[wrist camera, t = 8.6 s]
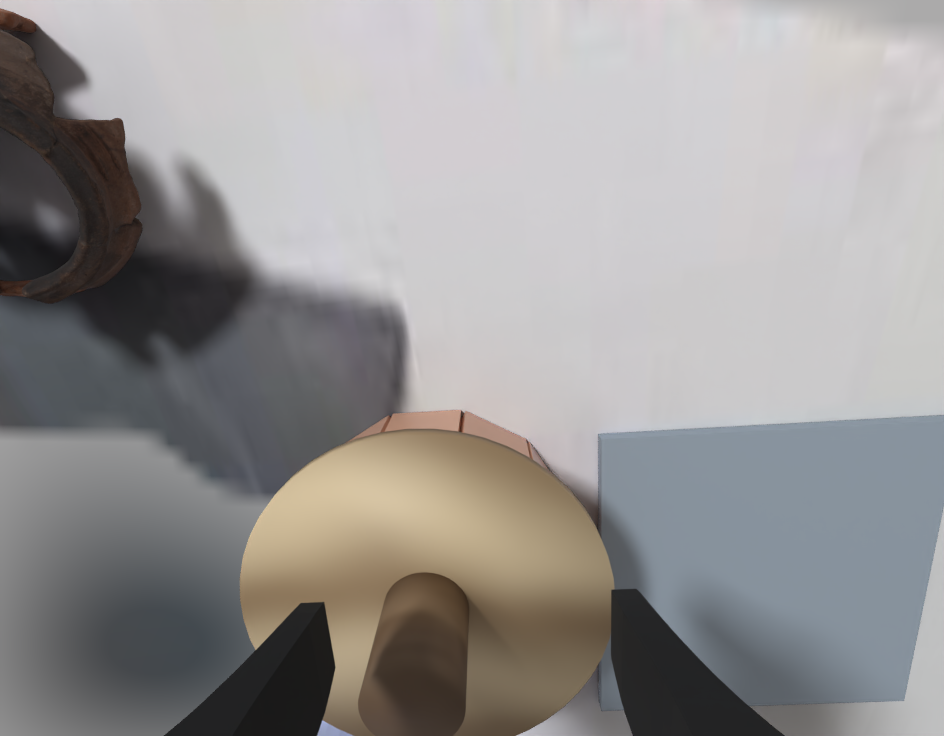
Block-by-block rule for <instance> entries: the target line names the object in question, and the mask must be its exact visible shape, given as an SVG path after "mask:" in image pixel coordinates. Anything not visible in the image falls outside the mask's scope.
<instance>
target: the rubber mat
mask: <svg viewBox="0 0 944 736" xmlns="http://www.w3.org/2000/svg"><path fill="white" fill-rule="evenodd" d="M943 507H944V415H937V416H919V417H900V418H882V419H864V420H845V421H827V422H809V423H790V424H772V425H754V426H735V427H717V428H699V429H681V430H662V431H644V432H626V433H607V434H598V522H599V535H600V537H601V540H602V542H603V544H604V547H605V549H606V552H607V554H608V557H609V561H610V565H611V569H612V573H613V577H614V588H615V589H637V590H638V591H639V592H641V594H642V595H643V596H644V597H645V598H646V600H647V601H648V602H649V603H650V605H651V606H652V607H653V608H654V609H655V610H656V612H657V613H658V614H659V615H660V616H661V617H662V619H663V620H664V621H665V622H666V623H667V624H668V625H669V627H670V628H671V629H672V630H673V631H674V632H675V633H676V634H677V636H678V637H679V638H680V639H681V640H682V641H683V642H684V643H685V644H686V645H687V646H688V647H689V648H690V649H691V650H692V652H693V653H694V654H695V655H696V656H697V657H698V658H699V659H700V660H701V661H702V662H703V663H704V664H705V665H706V666H707V667H708V668H709V669H710V670H711V671H712V672H713V673H714V674H715V675H716V676H717V677H718V678H719V679H720V680H721V681H722V682H723V683H724V684H725V685H726V686H727V687H729V688H730V689H731V690H732V691H733V692H734V693H735V694H736V695H737V696H738V697H739V698H740V699H741V700H743V701H744V702H745V703H746V704H747V705H748V706H764V705H794V704H824V703H854V702H884V701H904V699H905V694H906V689H907V684H908V679H909V674H910V669H911V664H912V659H913V655H914V650H915V645H916V640H917V635H918V630H919V625H920V620H921V615H922V610H923V606H924V601H925V596H926V591H927V586H928V581H929V576H930V571H931V566H932V561H933V556H934V552H935V547H936V542H937V537H938V532H939V527H940V522H941V517H942V512H943ZM599 703H600V707H601V711H614V710H624V708H623V705H622V702H621V698H620V694H619V690H618V686H617V681H616V677H615V673H614V668H613V664H612V660H611V634H610V639H609V642H608V644H607V647H606V649H605V652H604V654H603V657H602V659H601V661H600V662H599Z"/></svg>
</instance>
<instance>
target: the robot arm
mask: <svg viewBox="0 0 944 736" xmlns="http://www.w3.org/2000/svg"><path fill="white" fill-rule="evenodd" d="M611 660H612V664H613V668H614V673H615V677H616V681H617V686H618V690H619V694H620V698H621V702H622V705H623V708H624V711H625V714H626V717H627V720H628V723H629V726H630V728H631V731H632V734H633V736H784V735H783V734H782V733H780V732H779V731H778V730H777V729H775V728H774V727H773V726H772V725H770V724H769V723H768V722H767V721H766V720H765V719H763V718H762V717H761V716H760V715H759V714H757V713H756V712H755V711H754V710H753V709H752V708H750V707H749V706H748V705H747V704H746V703H745V702H744V701H743V700H741V699H740V698H739V697H738V696H737V695H736V694H735V693H734V692H733V691H732V690H731V689H730V688H729V687H727V686H726V685H725V684H724V683H723V682H722V681H721V680H720V679H719V678H718V677H717V676H716V675H715V674H714V673H713V672H712V671H711V670H710V669H709V668H708V667H707V666H706V665H705V664H704V663H703V662H702V661H701V660H700V659H699V658H698V657H697V656H696V655H695V654H694V653H693V652H692V650H691V649H690V648H689V647H688V646H687V645H686V644H685V643H684V642H683V641H682V640H681V639H680V638H679V637H678V636H677V634H676V633H675V632H674V631H673V630H672V629H671V628H670V627H669V625H668V624H667V623H666V622H665V621H664V620H663V619H662V617H661V616H660V615H659V614H658V613H657V612H656V610H655V609H654V608H653V607H652V606H651V605H650V603H649V602H648V601H647V600H646V598H645V597H644V596H643V595H642V594H641V592H639V591H638V590H637V589H615V590H611ZM335 668H336V667H335V661H334V655H333V649H332V644H331V638H330V632H329V626H328V621H327V615H326V609H325V603H324V602H310V603H300V604H299V605H298V606H297V607H296V608H295V609H294V610H293V611H292V612H291V613H290V614H289V616H288V617H287V618H286V619H285V620H284V621H283V622H282V623H281V624H280V625H279V626H278V627H277V628H276V629H275V630H274V631H273V633H272V634H271V635H270V636H269V637H268V638H267V639H266V640H265V641H264V642H263V643H262V644H261V645H260V646H259V647H258V648H257V649H256V650H255V651H254V653H253V654H252V655H251V656H250V657H249V658H248V659H247V660H246V661H245V662H244V663H243V664H242V665H241V666H240V667H239V668H238V669H237V670H236V671H235V672H234V673H233V674H232V675H231V676H230V677H229V678H228V679H227V680H226V681H225V682H224V683H222V684H221V685H220V686H219V688H217V689H216V690H215V691H214V692H213V693H212V694H211V695H210V696H209V697H208V698H207V699H206V700H205V701H204V702H203V703H201V704H200V705H199V706H198V707H197V708H196V709H195V710H194V711H193V712H191V713H190V714H189V715H188V716H187V717H186V718H185V719H183V720H182V721H181V722H180V723H179V724H177V725H176V726H175V727H174V728H173V729H171V730H170V731H169V732H168V733H167V734H166V735H164V736H353V735H351V734H349V733H346V732H344V731H342V730H339V729H337V728H335V727H334V726H332V725H330V724H328V723H326V722H325V721H323V717H324V714H325V711H326V707H327V703H328V699H329V695H330V690H331V686H332V681H333V677H334V672H335Z"/></svg>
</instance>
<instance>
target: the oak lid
mask: <svg viewBox="0 0 944 736" xmlns="http://www.w3.org/2000/svg"><path fill="white" fill-rule="evenodd" d="M611 590H615V588H614V577H613V573H612V569H611V565H610V561H609V557H608V554H607V552H606V549H605V547H604V544H603V542H602V540H601V537H600V535H599V532H598V530H597V528H596V526H595V524H594V522H593V521H592V519H591V517H590V516H589V514H588V512H587V511H586V509H585V507H584V506H583V505H582V504H581V502H580V501H579V500H578V499H577V498H576V496H575V495H574V494H573V493H572V492H571V490H570V489H569V488H568V487H567V486H566V485H565V484H563V483H562V482H561V481H560V480H559V479H558V478H557V477H556V476H555V475H554V474H553V473H551V472H550V471H549V470H547V469H546V468H544V467H543V466H541V465H540V464H539V463H537V462H536V461H534V460H533V459H531V458H530V457H528V456H526V455H524V454H522V453H520V452H518V451H516V450H514V449H512V448H510V447H508V446H506V445H503V444H500V443H498V442H495V441H492V440H490V439H487V438H484V437H480V436H476V435H472V434H467V433H463V432H459V431H450V430H441V429H402V430H394V431H386V432H380V433H376V434H372V435H369V436H365V437H361V438H357V439H355V440H352V441H350V442H347V443H345V444H342V445H340V446H337V447H335V448H333V449H331V450H329V451H328V452H326V453H324V454H322V455H321V456H319V457H317V458H315V459H314V460H312V461H311V462H310V463H308V464H307V465H306V466H304V467H303V468H302V469H301V470H299V471H298V472H297V473H295V474H294V475H293V476H292V477H291V478H290V479H289V480H288V481H287V482H286V483H285V485H284V486H283V487H282V488H281V489H280V490H279V491H278V492H277V493H276V495H275V496H274V497H273V498H272V500H271V501H270V503H269V504H268V505H267V507H266V508H265V510H264V511H263V512H262V514H261V515H260V517H259V518H258V520H257V522H256V524H255V526H254V529H253V531H252V533H251V534H250V536H249V540H248V543H247V546H246V549H245V552H244V555H243V560H242V567H241V575H240V600H241V606H242V612H243V618H244V622H245V625H246V628H247V631H248V634H249V637H250V640H251V642H252V644H253V646H254V648H255V650H256V649H257V648H258V647H259V646H260V645H261V644H262V643H263V642H264V641H265V640H266V639H267V638H268V637H269V636H270V635H271V634H272V633H273V631H274V630H275V629H276V628H277V627H278V626H279V625H280V624H281V623H282V622H283V621H284V620H285V619H286V618H287V617H288V616H289V614H290V613H291V612H292V611H293V610H294V609H295V608H296V607H297V606H298V605H299V604H300V603H310V602H324V603H325V609H326V615H327V621H328V626H329V632H330V638H331V644H332V649H333V655H334V661H335V667H336V668H335V672H334V677H333V681H332V686H331V690H330V695H329V699H328V703H327V707H326V711H325V714H324V717H323V721H325V722H326V723H328V724H330V725H332V726H334V727H335V728H337V729H339V730H342V731H344V732H346V733H349V734H351V735H353V736H516V735H518V734H520V733H523V732H525V731H527V730H529V729H531V728H533V727H535V726H536V725H538V724H540V723H542V722H543V721H545V720H547V719H548V718H550V717H551V716H552V715H554V714H555V713H556V712H558V711H559V710H560V709H562V708H563V707H564V706H565V705H566V704H567V703H568V702H569V701H570V700H571V699H572V698H573V697H574V696H575V695H576V694H578V693H579V691H580V690H581V689H582V688H583V686H584V685H585V684H586V682H587V681H588V680H589V679H590V677H591V676H592V674H593V673H594V671H595V669H596V668H597V666H598V664H599V662H600V661H601V659H602V657H603V654H604V652H605V649H606V647H607V644H608V642H609V639H610V634H611Z"/></svg>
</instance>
